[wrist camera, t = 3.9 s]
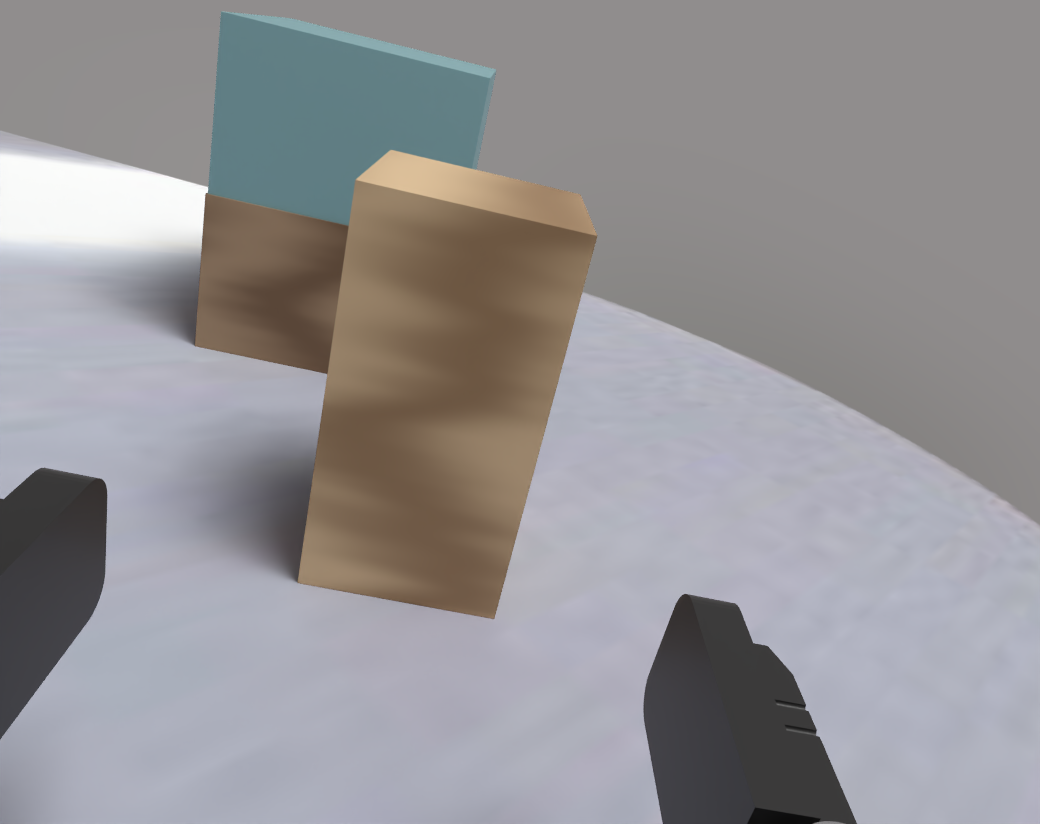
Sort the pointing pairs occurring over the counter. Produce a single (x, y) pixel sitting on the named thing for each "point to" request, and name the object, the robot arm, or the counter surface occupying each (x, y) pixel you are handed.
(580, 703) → the counter surface
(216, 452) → the counter surface
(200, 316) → the walnut base block
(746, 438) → the counter surface
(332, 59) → the teal top block
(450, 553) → the oak block
